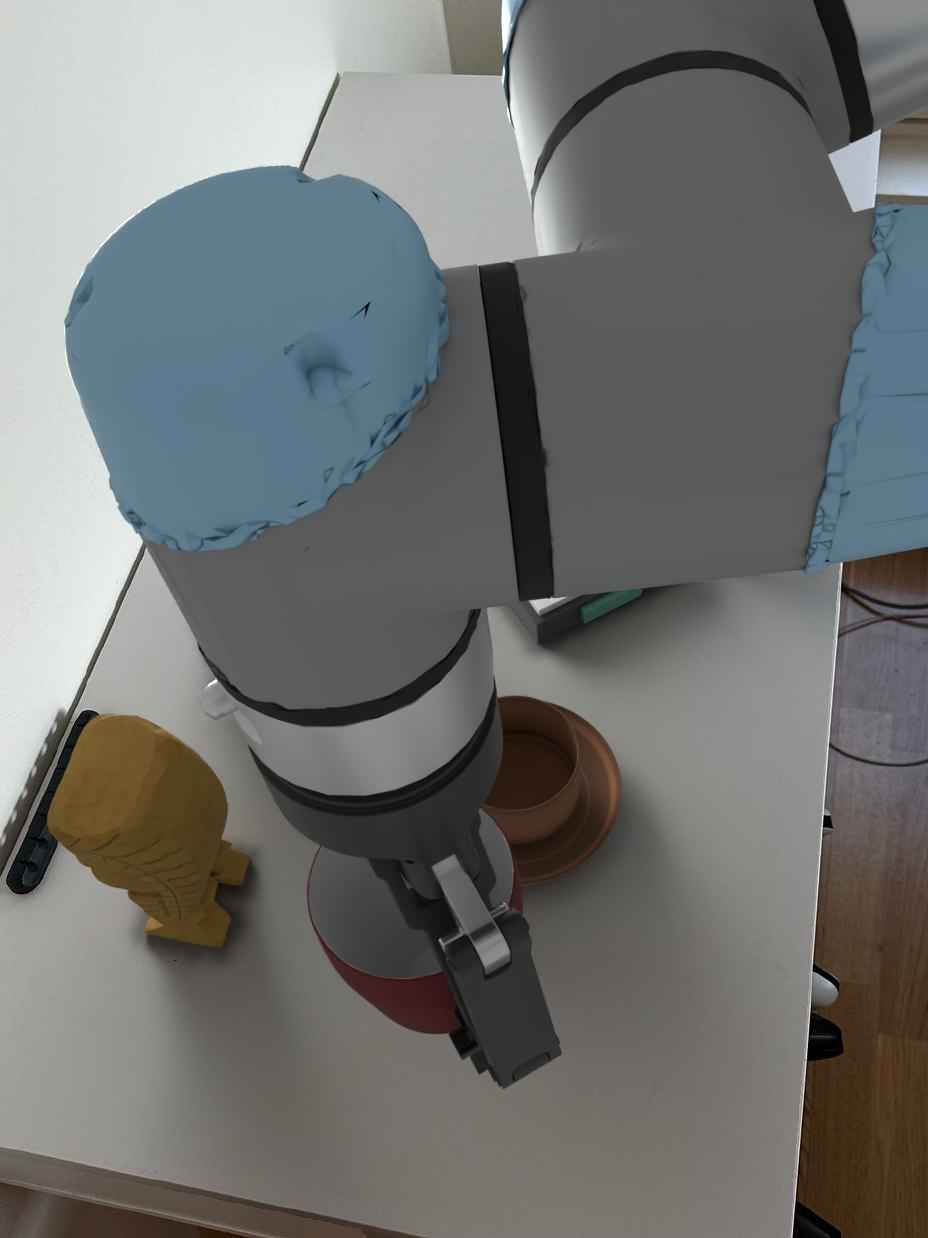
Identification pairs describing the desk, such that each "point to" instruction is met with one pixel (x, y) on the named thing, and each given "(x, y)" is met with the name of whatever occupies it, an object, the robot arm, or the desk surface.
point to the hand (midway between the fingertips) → (450, 956)
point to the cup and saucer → (552, 788)
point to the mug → (394, 933)
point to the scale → (568, 611)
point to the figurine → (149, 825)
